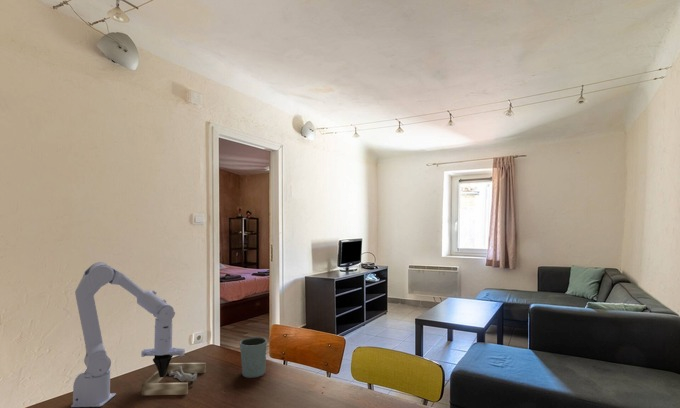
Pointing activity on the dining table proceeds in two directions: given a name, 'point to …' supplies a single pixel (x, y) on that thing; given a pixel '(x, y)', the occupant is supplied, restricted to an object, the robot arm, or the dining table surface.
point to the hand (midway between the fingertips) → (162, 376)
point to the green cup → (253, 356)
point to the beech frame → (157, 388)
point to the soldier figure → (183, 375)
